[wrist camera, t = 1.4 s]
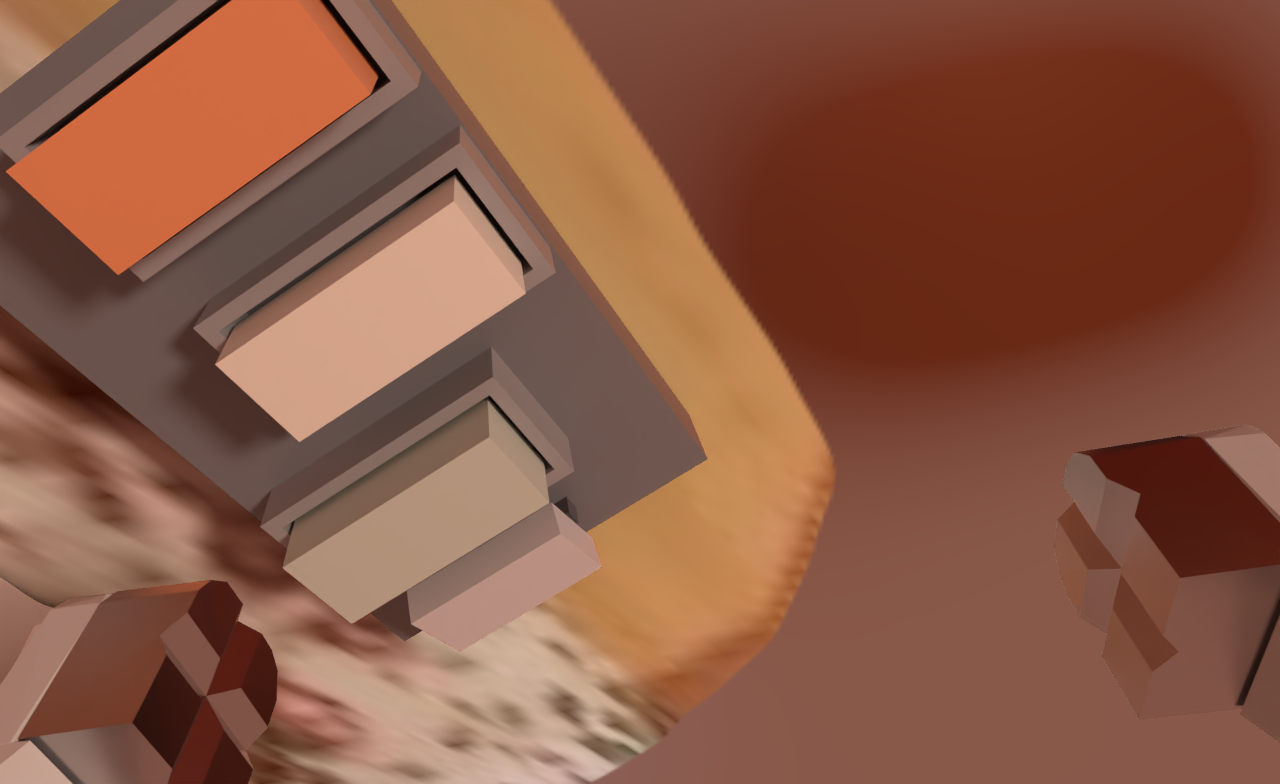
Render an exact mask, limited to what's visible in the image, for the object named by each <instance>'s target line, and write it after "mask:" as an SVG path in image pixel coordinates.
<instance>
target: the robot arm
mask: <svg viewBox="0 0 1280 784" xmlns="http://www.w3.org/2000/svg"><path fill="white" fill-rule="evenodd" d="M1063 486H1064V487H1065V489H1066V490H1067V492H1068V493H1069V495H1070V496H1071V498H1072V500H1073V501H1074V503H1073V504H1072V505H1071V506H1070V507H1069V508H1068V509H1067V510H1066V511H1065V512H1064V513H1063V514H1062V515H1061V516H1060V517H1059V518H1058V519H1057V527H1056V535H1055V544H1054V546H1055V553H1056V559H1057V565H1058V572H1059V575H1060V578H1061V580H1062V583H1063V586H1064V588H1065V591H1066V594H1067V596H1068V598H1069V599H1070V601H1071V603H1072V605H1073V607H1074V608H1075V610H1076V612H1077V614H1078V615H1079V617H1081V618H1083V619H1084V620H1086V621H1087V622H1089V623H1091V624H1092V625H1094V626H1096V627H1097V628H1099V629H1101V630H1102V631H1104V632H1105V633H1107V635H1106V640H1105V644H1104V649H1103V654H1102V657H1103V659H1104V660H1105V662H1106V664H1107V666H1108V667H1109V669H1110V671H1111V672H1112V674H1113V676H1114V677H1115V679H1116V681H1117V682H1118V684H1119V686H1120V688H1121V689H1122V691H1123V693H1124V694H1125V696H1126V698H1127V699H1128V701H1129V703H1130V705H1131V706H1132V708H1133V710H1134V711H1135V713H1136V715H1137V717H1138V718H1139V719H1147V718H1157V717H1167V716H1176V715H1186V714H1196V713H1206V712H1215V711H1225V710H1235V709H1242V710H1241V713H1240V714H1241V715H1242V716H1243V717H1245V718H1246V719H1248V720H1249V721H1250V722H1252V723H1253V724H1255V725H1256V726H1257V727H1259V728H1260V729H1261V730H1263V731H1264V732H1266V733H1267V734H1268V735H1270V736H1272V737H1273V738H1274V739H1275V740H1277V741H1278V742H1280V448H1279V447H1278V446H1277V445H1276V444H1275V443H1274V442H1273V441H1272V440H1271V439H1270V438H1269V437H1268V436H1267V435H1266V434H1265V433H1264V432H1262V431H1261V430H1258V429H1256V428H1254V427H1251V426H1248V425H1240V426H1234V427H1228V428H1222V429H1216V430H1209V431H1204V432H1197V433H1191V434H1188V435H1186V436H1175V437H1168V438H1162V439H1156V440H1149V441H1143V442H1136V443H1130V444H1123V445H1117V446H1111V447H1105V448H1098V449H1091V450H1086V451H1079V452H1074V454H1073V455H1072V457H1071V458H1070V460H1069V461H1068V463H1067V465H1066V471H1065V476H1064V482H1063ZM242 606H243V604H242V602H241V601H240V599H239V598H238V597H237V595H236V594H235V592H234V591H233V590H232V588H231V587H230V585H229V584H228V583H227V582H223V581H215V580H208V581H200V582H192V583H183V584H175V585H167V586H159V587H151V588H143V589H135V590H126V591H118V592H116V593H112V594H103V595H95V596H86V597H77V598H69V599H67V600H66V601H64V602H62V603H61V604H59V605H57V606H56V607H54V608H53V607H49V606H46V605H43V604H41V603H39V602H37V601H35V600H34V599H32V598H30V597H29V596H27V595H26V594H24V593H23V592H21V591H20V590H18V589H17V588H16V587H14V586H13V585H11V584H10V583H8V582H7V581H5V580H4V579H2V578H0V784H248V783H249V780H250V777H251V774H252V772H253V768H252V765H251V763H250V760H249V758H248V756H247V753H246V751H245V750H246V749H247V748H248V747H249V746H250V745H251V744H252V743H253V742H254V741H255V740H256V739H257V738H258V737H259V736H260V735H261V734H262V733H263V732H264V731H265V730H266V729H267V728H268V725H269V722H270V719H271V716H272V713H273V710H274V707H275V704H276V701H277V674H278V670H277V667H276V663H275V660H274V656H273V653H272V649H271V648H270V646H269V645H268V643H267V641H266V640H265V638H264V636H263V635H262V634H261V633H260V632H258V631H256V630H254V629H252V628H250V627H248V626H246V625H244V624H242V623H241V622H239V621H238V618H239V615H240V612H241V609H242Z"/></svg>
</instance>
